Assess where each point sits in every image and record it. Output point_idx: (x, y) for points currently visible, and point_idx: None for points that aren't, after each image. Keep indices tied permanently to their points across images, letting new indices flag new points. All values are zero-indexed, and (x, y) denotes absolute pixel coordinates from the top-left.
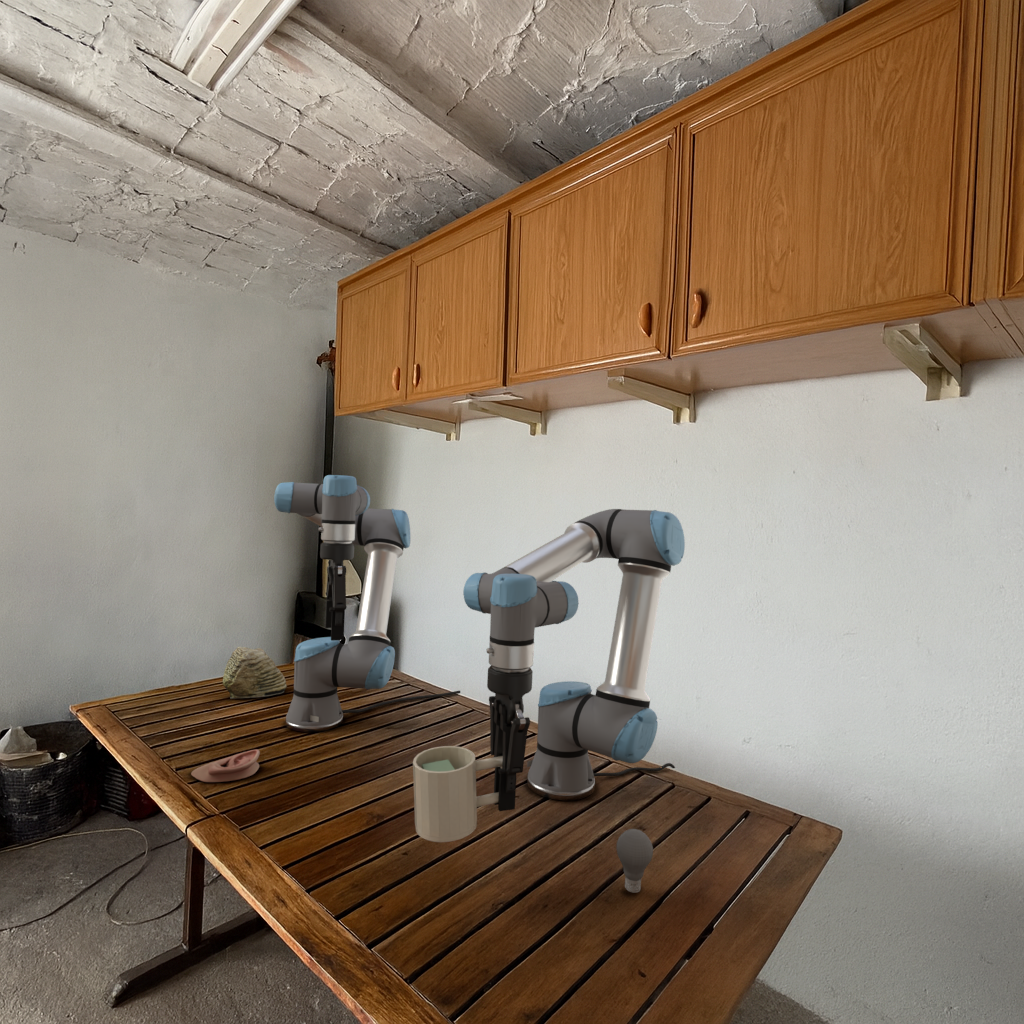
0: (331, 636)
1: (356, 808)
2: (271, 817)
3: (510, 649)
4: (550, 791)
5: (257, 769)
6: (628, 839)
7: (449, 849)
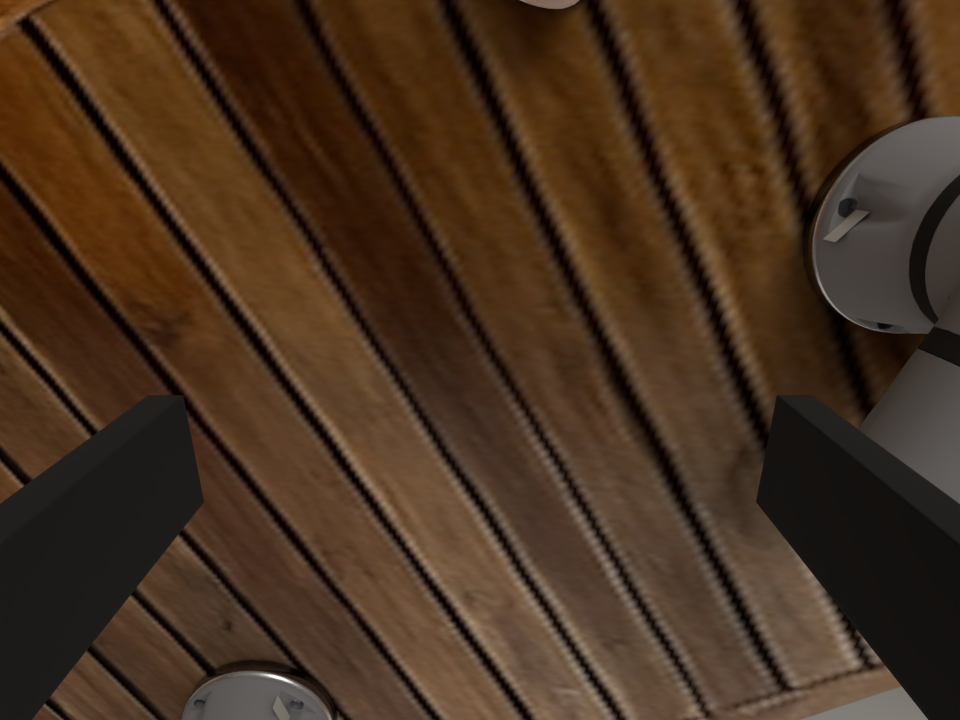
0: (122, 415)
1: (215, 288)
2: (191, 52)
3: None
4: (195, 692)
5: (526, 2)
6: None
7: (8, 449)
